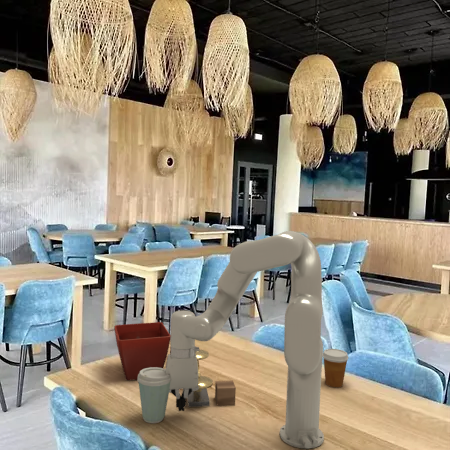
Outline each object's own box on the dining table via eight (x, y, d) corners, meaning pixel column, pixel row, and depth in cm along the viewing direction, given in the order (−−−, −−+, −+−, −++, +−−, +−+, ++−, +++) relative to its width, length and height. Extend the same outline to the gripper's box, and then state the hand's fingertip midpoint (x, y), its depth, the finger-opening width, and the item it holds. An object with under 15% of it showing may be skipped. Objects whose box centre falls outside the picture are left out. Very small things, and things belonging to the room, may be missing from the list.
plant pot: (117, 385, 159) (118, 339, 158) (113, 366, 177) (114, 324, 176) (170, 380, 165) (171, 336, 164) (161, 362, 183) (162, 321, 182)
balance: (213, 409, 143) (214, 373, 143) (185, 410, 142) (186, 374, 141) (206, 380, 166) (207, 349, 165) (182, 381, 165) (183, 349, 164)
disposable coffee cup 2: (318, 385, 164) (319, 354, 164) (324, 376, 173) (326, 346, 172) (343, 391, 160) (345, 359, 159) (349, 382, 168) (351, 351, 168)
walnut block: (235, 405, 147) (235, 387, 146) (217, 406, 146) (217, 388, 146) (232, 397, 153) (232, 380, 152) (214, 398, 152) (215, 380, 152)
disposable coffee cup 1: (153, 406, 144) (154, 361, 143) (179, 416, 138) (179, 369, 137) (129, 420, 135) (129, 372, 134) (155, 431, 129) (156, 381, 128)
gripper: (204, 346, 143) (202, 401, 144) (157, 348, 139) (156, 405, 140) (208, 354, 135) (206, 413, 136) (159, 357, 132) (157, 416, 133)
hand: (181, 408), depth 138 cm, fingers closed
